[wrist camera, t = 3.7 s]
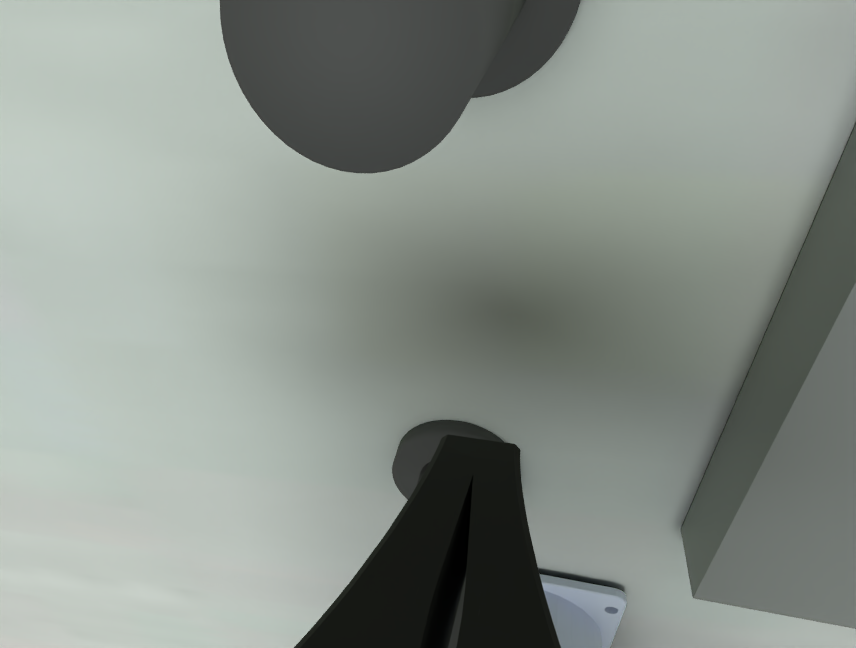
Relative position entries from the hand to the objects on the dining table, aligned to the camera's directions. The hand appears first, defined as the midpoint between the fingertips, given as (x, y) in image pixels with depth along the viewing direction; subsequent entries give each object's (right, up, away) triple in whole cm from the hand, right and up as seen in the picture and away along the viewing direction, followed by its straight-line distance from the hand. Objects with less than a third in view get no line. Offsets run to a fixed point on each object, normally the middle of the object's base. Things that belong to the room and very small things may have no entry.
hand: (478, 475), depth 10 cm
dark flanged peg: (0, +10, +1) cm, 10 cm away
